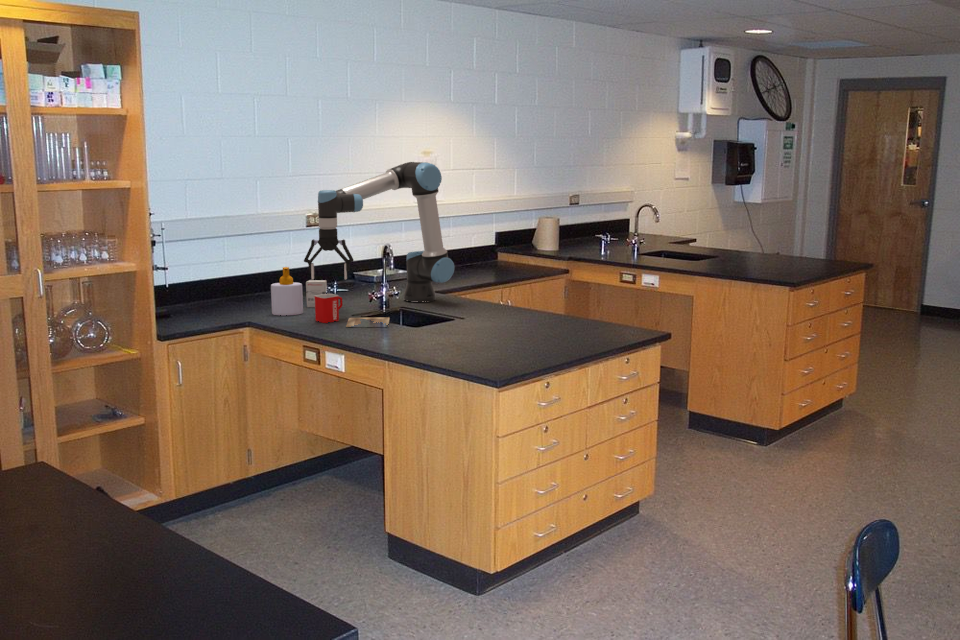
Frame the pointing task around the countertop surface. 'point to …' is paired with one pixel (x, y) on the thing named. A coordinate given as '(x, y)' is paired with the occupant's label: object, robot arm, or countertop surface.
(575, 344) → the countertop surface
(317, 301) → the mug
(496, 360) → the countertop surface
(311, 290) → the ink box
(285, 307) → the soap bottle
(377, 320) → the coaster board
